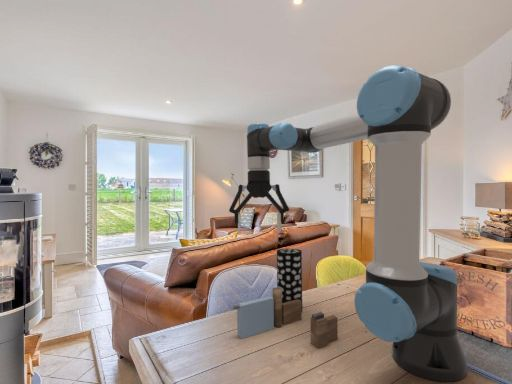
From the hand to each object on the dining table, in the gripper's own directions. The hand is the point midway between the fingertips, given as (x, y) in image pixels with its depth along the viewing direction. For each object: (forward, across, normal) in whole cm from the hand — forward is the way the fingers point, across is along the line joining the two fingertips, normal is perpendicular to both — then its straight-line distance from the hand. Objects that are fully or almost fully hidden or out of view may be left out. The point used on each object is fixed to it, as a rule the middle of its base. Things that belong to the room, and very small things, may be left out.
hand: (259, 232), depth 102 cm
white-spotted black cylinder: (+26, -10, +2) cm, 28 cm away
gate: (+26, +4, +16) cm, 31 cm away
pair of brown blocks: (+26, -10, +18) cm, 33 cm away
